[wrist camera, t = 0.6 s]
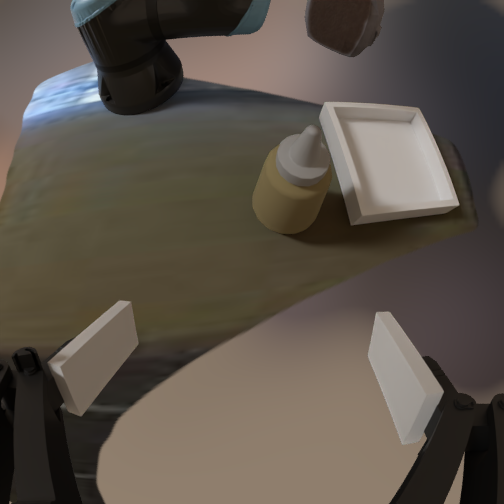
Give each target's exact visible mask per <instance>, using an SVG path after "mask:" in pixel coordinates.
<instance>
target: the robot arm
mask: <svg viewBox="0 0 504 504" xmlns="http://www.w3.org/2000/svg"><path fill="white" fill-rule="evenodd" d="M270 1H271V0H72V3H71V7H70V9H71V13H72V16H73V19H74V22H75V27H77V29H78V30H79V32H80V35H81V37H82V39H83V41H84V43H85V45H86V47H87V49H88V51H89V53H90V55H91V57H92V59H93V61H94V63H95V65H96V67H97V72H98V89H99V95H100V98H101V100H102V102H103V104H104V105H105V107H106V108H107V109H108V110H109V111H111V112H113V113H116V114H122V115H130V114H137V113H141V112H144V111H147V110H150V109H152V108H154V107H156V106H158V105H160V104H162V103H163V102H165V101H166V100H167V99H169V98H170V97H171V96H172V95H173V94H174V93H175V92H176V91H177V90H178V88H179V87H180V85H181V83H182V80H183V69H182V64H181V61H180V59H179V58H178V56H177V55H176V54H175V52H174V51H173V50H172V48H171V47H170V46H169V44H168V43H167V42H166V39H176V38H187V37H200V36H223V35H224V36H232V35H240V34H251V33H254V32H256V31H258V30H259V29H260V28H261V27H262V25H263V23H264V21H265V18H266V15H267V12H268V9H269V5H270ZM137 345H138V339H137V334H136V328H135V323H134V317H133V311H132V305H131V302H128V301H118V302H117V303H116V304H115V305H114V306H112V307H111V308H110V309H109V310H108V311H106V312H105V313H104V314H103V315H102V316H100V317H99V318H98V319H97V320H96V321H94V322H93V323H92V324H91V325H90V326H89V327H87V328H86V329H85V330H84V331H83V332H82V333H80V334H79V335H78V336H77V337H75V338H73V339H70V340H68V341H67V342H65V343H64V344H63V345H62V346H61V348H58V349H57V350H56V352H54V353H53V354H52V355H50V356H49V357H48V358H47V359H46V360H45V361H44V362H42V363H41V362H40V359H39V356H38V354H37V351H36V349H34V348H32V347H24V348H21V349H19V350H17V351H15V352H14V353H13V355H12V359H13V361H14V364H15V366H16V369H17V371H16V370H11V369H10V366H9V364H8V362H7V361H5V360H0V504H9V501H10V493H11V486H12V480H13V474H14V469H15V481H16V491H17V503H11V504H83V503H82V500H81V496H80V493H79V490H78V486H77V483H76V479H75V475H74V471H73V467H72V462H71V458H70V453H69V448H68V443H67V438H66V432H65V426H64V419H63V412H62V410H61V408H60V406H61V405H62V404H63V403H65V405H66V407H67V409H68V412H71V413H73V414H76V415H78V416H82V415H83V414H84V412H85V411H86V410H87V408H88V407H89V406H90V405H91V403H92V402H93V401H94V399H95V398H96V397H97V396H98V394H99V393H100V392H101V390H102V389H103V388H104V387H105V385H106V384H107V383H108V381H109V380H110V379H111V378H112V376H113V375H114V374H115V373H116V371H117V370H118V369H119V368H120V366H121V365H122V364H123V363H124V361H125V360H126V359H127V358H128V356H129V355H130V354H131V353H132V351H133V350H134V349H135V348H136V346H137ZM368 359H369V361H370V363H371V366H372V368H373V371H374V373H375V375H376V378H377V380H378V383H379V385H380V388H381V390H382V393H383V395H384V398H385V400H386V403H387V405H388V408H389V411H390V413H391V416H392V419H393V421H394V424H395V427H396V429H397V432H398V435H399V437H400V440H401V443H402V445H405V444H410V443H415V442H419V440H420V438H421V437H422V435H423V433H425V435H426V437H427V440H426V442H425V443H424V445H423V447H422V449H421V450H420V452H419V453H418V457H417V459H416V461H415V463H414V464H413V466H412V468H411V470H410V471H409V473H408V475H407V477H406V478H405V480H404V482H403V483H402V485H401V486H400V488H399V490H398V491H397V493H396V494H395V496H394V497H393V499H392V500H391V502H390V503H389V504H444V502H445V499H446V497H447V495H448V493H449V491H450V488H451V486H452V484H453V481H454V479H455V476H456V474H457V471H458V468H459V466H460V463H461V460H462V457H463V454H464V451H465V457H464V472H463V482H462V491H461V498H460V504H504V394H497V395H495V396H494V398H493V399H492V401H491V403H490V404H476V402H475V400H474V399H473V398H472V397H471V396H469V395H467V394H463V393H458V392H457V391H456V389H455V388H454V386H453V385H452V383H451V382H450V381H449V379H448V378H447V376H445V373H444V372H443V370H441V368H440V366H439V365H438V363H437V362H436V361H435V360H433V359H432V358H430V357H429V356H425V357H421V356H420V354H419V353H418V351H417V350H416V348H415V347H414V345H413V344H412V343H411V341H410V340H409V338H408V337H407V335H406V334H405V332H404V331H403V330H402V328H401V327H400V326H399V324H398V323H397V322H396V320H395V319H394V317H393V316H392V314H391V313H390V312H376V317H375V322H374V328H373V332H372V337H371V342H370V347H369V351H368ZM1 400H2V402H3V404H4V406H3V408H1Z"/></svg>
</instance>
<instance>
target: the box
mask: <svg viewBox="0 0 504 504" xmlns="http://www.w3.org/2000/svg"><path fill="white" fill-rule="evenodd" d="M319 120H320V123H321V126H322V128H323V131H324V134H325V137H326V140H327V143H328V147H329V150H330V153H331V156H332V159H333V162H334V166H335V169H336V172H337V176H338V179H339V183H340V186H341V190H342V193H343V197H344V201H345V205H346V208H347V212H348V216H349V220H350V224H351V225H358V224H366V223H373V222H381V221H389V220H397V219H405V218H413V217H421V216H429V215H437V214H445V213H447V212H449V211H450V210H452V209H454V208H456V207H457V206H459V202H458V199H457V196H456V193H455V190H454V187H453V184H452V181H451V179H450V176H449V173H448V171H447V168H446V166H445V163H444V161H443V158H442V156H441V153H440V151H439V149H438V146H437V144H436V142H435V140H434V137H433V135H432V133H431V131H430V129H429V127H428V125H427V123H426V121H425V119H424V117H423V115H422V113H421V111H420V109H419V108H415V107H407V106H397V105H387V104H373V103H355V102H325V103H324V105H323V108H322V110H321V113H320V116H319Z"/></svg>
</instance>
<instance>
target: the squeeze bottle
mask: <svg viewBox="0 0 504 504" xmlns="http://www.w3.org/2000/svg"><path fill="white" fill-rule="evenodd" d="M321 134H322V132H321V129H320V128H319V127H318V126H316V125H309V126H308V127H307V128H306V129H305V130H304V132H303V133H302V134H295V135H292V136H288V137H287V138H286V139H284V140H283V141H282V142H281V144H279V145H277V146H276V147H275V148H274V149H273V150H271V151H270V152H269V154H268V156H267V158H266V161H265V163H264V165H263V168H262V171H261V173H260V176H259V179H258V182H257V184H256V187H255V190H254V192H253V209H254V211H255V214H256V216H257V218H258V220H259V221H260V222H261V223H263V224H264V225H265V226H266V227H267V228H268V229H270V230H272V231H275V232H277V233H280V234H296V233H298V232H301V231H303V230H306V229H307V228H308V227H309V226H310V225H311V224H312V223H313V222H314V221H315V220H316V217H317V215H318V213H319V210H320V208H321V205H322V203H323V201H324V198H325V196H326V193H327V191H328V189H329V186H330V183H331V179H332V172H331V165H330V155H329V152H328V150H327V149H326V147H325V145H324V144H323V143H321Z"/></svg>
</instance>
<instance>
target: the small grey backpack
mask: <svg viewBox="0 0 504 504" xmlns="http://www.w3.org/2000/svg"><path fill="white" fill-rule="evenodd" d="M383 13H384V0H307V6H306V12H305V22H306V28H307V34H308V37H310V38H311V39H312V40H314V41H315V42H317V43H319V44H320V45H322V46H324V47H326V48H328V49H330V50H332V51H335V52H337V53H339V54H342V55H345V56H348V57H355V56H357V55H359V54H360V53H361V52H362V51H363V50H364V49H365V48H366V47H367V46H371V45H372V44H373V42H374V41H375V39H376V37H377V36H378V35H379V33H380V30H381V26H380V23H381V20H382V16H383Z"/></svg>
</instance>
